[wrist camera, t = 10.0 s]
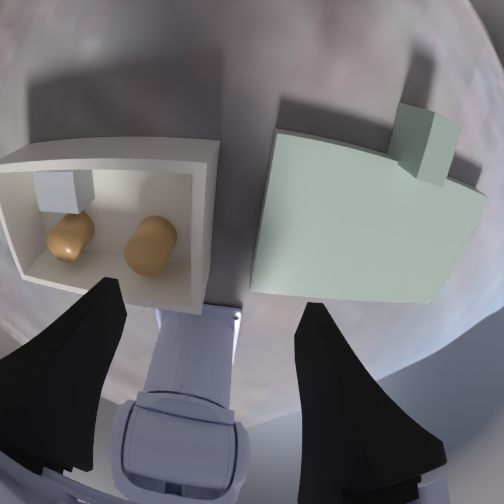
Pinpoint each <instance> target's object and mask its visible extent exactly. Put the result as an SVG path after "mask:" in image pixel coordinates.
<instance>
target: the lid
mask: <svg viewBox="0 0 504 504" xmlns="http://www.w3.org/2000/svg"><path fill="white" fill-rule="evenodd" d="M461 127H462V126H460V125H458V124H456V123H455V122H453V121H451V120H449V119H447V118H445V117H443V116H441V115H440V114H438V113H436V112H433V111H429V110H426V109H422V108H419V107H415V106H411V105H407V104H403V103H399V107H398V111H397V116H396V120H395V124H394V128H393V132H392V136H391V140H390V143H389V147H388V151H387V154H385V153H382V152H379V151H375V150H372V149H368V148H365V147H361V146H357V145H354V144H350V143H346V142H342V141H337V140H333V139H329V138H324V137H320V136H315V135H310V134H305V133H300V132H294V131H289V130H283V129H277V128H275V131H274V137H273V143H272V149H271V155H270V161H269V167H268V173H267V179H266V185H265V191H264V197H263V203H262V209H261V215H260V221H259V226H258V232H257V238H256V244H255V250H254V256H253V262H252V268H251V273H250V291H251V292H260V293H270V294H281V295H291V296H303V297H315V298H328V299H342V300H357V301H374V302H394V303H419V304H432V302H433V301H434V299H435V298H436V296H437V295H438V293H439V291H440V290H441V288H442V287H443V285H444V283H445V282H446V280H447V278H448V277H449V275H450V273H451V272H452V270H453V268H454V266H455V265H456V263H457V261H458V259H459V257H460V255H461V253H462V252H463V250H464V248H465V246H466V244H467V242H468V240H469V238H470V236H471V234H472V232H473V229H474V227H475V225H476V223H477V221H478V219H479V216H480V214H481V212H482V209H483V207H484V204H485V202H486V199H487V196H485V195H484V194H483V193H482V192H480V191H479V190H478V189H476V188H475V187H473V186H470V185H468V184H466V183H464V182H461V181H459V180H457V179H454V178H452V177H450V176H447V175H448V172H449V169H450V165H451V162H452V159H453V156H454V153H455V149H456V146H457V142H458V139H459V135H460V131H461Z"/></svg>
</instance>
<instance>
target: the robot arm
mask: <svg viewBox="0 0 504 504" xmlns="http://www.w3.org/2000/svg"><path fill="white" fill-rule="evenodd" d="M155 311H156V317H157V323H158V328H159V335H158V338H157V342H156V345H155V349H154V352H153V356H152V360H151V363H150V367H149V371H148V374H147V378H146V382H145V386H144V390H143V392H141V391H139V392H138V395H137V399H136V401H133V400H127V401H126V402H125V403H124V404H122V405H120V407H119V408H118V410H117V412H116V414H115V417H114V420H113V424H112V428H111V433H110V439H109V457H110V460H111V466H112V479H113V480H114V486H115V488H117V490H119V492H121V493H122V494H123V495H124V496H125V497H126V498H128V500H130V501H128V500H125V499H122V498H119V497H115V496H113V495H110V494H107V493H104V492H101V491H99V490H96V489H93V488H91V487H88V486H86V485H83V484H81V483H79V482H77V481H74V480H72V479H70V478H68V477H66V476H64V475H63V470H64V469H65V470H67V471H69V472H72V469H73V467H75V468H78V469H80V470H83V471H85V472H88V471H91V470H92V469H93V443H94V431H95V423H96V416H97V410H98V405H99V400H100V395H101V391H102V387H103V384H104V381H105V378H106V375H107V372H108V370H109V367H110V364H111V362H112V359H113V357H114V354H115V351H116V349H117V346H118V344H119V341H120V339H121V336H122V332H123V329H124V325H125V321H126V317H127V312H126V309H125V305H124V301H123V297H122V293H121V289H120V285H119V281H118V279H115V278H109V277H104V278H103V279H101V280H100V281H99V282H98V283H97V284H96V285H94V286H93V287H92V288H91V289H90V290H89V291H88V292H87V293H86V294H84V295H83V296H82V297H81V298H80V299H79V300H78V301H77V302H76V303H75V304H73V305H72V306H71V307H70V308H69V309H68V310H67V311H66V312H65V313H63V314H62V315H61V316H60V317H59V318H58V319H56V320H55V321H54V322H53V323H52V324H51V325H49V326H48V327H47V328H46V329H45V330H43V331H42V332H41V333H40V334H38V335H37V336H36V337H34V338H33V339H31V340H30V341H29V342H27V343H26V344H24V345H23V346H21V347H20V348H18V349H17V350H15V351H14V352H12V353H11V354H9V355H7V356H6V357H4V358H2V359H0V504H87V503H90V504H234V502H236V501H237V497H238V494H239V491H240V488H241V486H242V484H243V483H244V481H245V479H246V477H247V473H248V469H249V462H250V441H249V436H248V432H247V431H246V429H245V428H244V427H243V425H242V423H240V422H237V421H234V411H233V410H229V403H230V388H231V372H232V365H233V364H234V359H235V353H236V347H237V341H238V335H239V329H240V322H241V316H242V311H241V309H239V308H233V307H224V306H216V305H207V304H203V307H202V312H201V315H197V314H189V313H182V312H175V311H169V310H162V309H156V308H155ZM234 316H237V317H234ZM294 346H295V364H296V372H297V379H298V386H299V393H300V401H301V409H302V461H301V462H302V463H301V476H300V485H299V493H298V504H450V500H449V492H448V486H447V480H446V477H442V478H439V479H437V480H434V481H432V482H430V483H427V484H424V485H421V486H418V485H417V483H420V482H421V475H422V474H424V473H427V472H429V471H431V470H434V469H436V468H438V467H440V466H443V465H445V464H446V463H447V458H446V454H445V450H444V445H443V442H442V441H441V440H439V439H438V438H437V437H435V436H434V435H432V434H430V433H429V432H428V431H426V430H425V429H424V428H422V427H421V426H420V425H419V424H418V423H416V422H415V421H414V420H413V419H412V418H410V417H409V416H408V415H407V414H406V413H405V412H404V411H403V410H402V409H401V408H400V407H399V406H398V405H397V404H396V403H395V402H394V401H393V400H392V399H391V398H390V397H389V396H388V395H387V394H386V393H385V392H384V391H383V390H382V388H381V387H380V386H379V385H378V384H377V383H376V381H375V380H374V379H373V378H372V376H371V375H370V374H369V373H368V371H367V370H366V369H365V367H364V366H363V364H362V363H361V362H360V360H359V359H358V357H357V356H356V355H355V353H354V352H353V350H352V349H351V347H350V346H349V344H348V343H347V341H346V340H345V338H344V336H343V335H342V333H341V332H340V330H339V328H338V327H337V325H336V324H335V322H334V320H333V319H332V317H331V315H330V314H329V312H328V310H327V309H326V307H325V306H324V304H323V303H313V302H307V305H306V308H305V310H304V313H303V315H302V318H301V320H300V323H299V325H298V328H297V330H296V333H295V335H294ZM77 498H78V499H80V500H83V501H85V502H87V503H83V502H79V501H78V500H77Z"/></svg>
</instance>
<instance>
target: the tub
mask: <svg viewBox="0 0 504 504" xmlns="http://www.w3.org/2000/svg"><path fill="white" fill-rule="evenodd" d="M219 149H220V141H219V140H208V139H194V138H177V137H95V138H78V139H66V140H55V141H46V142H38V143H31V144H28V145H26V146H24V147H22V148H20V149H18V150H16V151H14V152H13V153H11V154H9V155H7V156H5V157H4V158H2V159H0V219H1V222H2V226H3V229H4V232H5V235H6V238H7V241H8V244H9V247H10V250H11V252H12V255H13V258H14V260H15V263H16V265H17V268H18V270H19V273H20V275H21V277H22V279H23V280H27V281H31V282H34V283H38V284H42V285H46V286H49V287H53V288H57V289H61V290H66V291H70V292H74V293H79V294H83V295H84V294H86V293H87V292H88V291H89V290H90V289H91V288H92V287H93V286H94V285H96V284H97V283H98V282H99V281H100V280H101V279H103V278H104V277H109V278H115V279H118V281H119V285H120V289H121V293H122V297H123V301H124V303H127V304H133V305H138V306H144V307H150V308H156V309H162V310H169V311H175V312H182V313H189V314H197V315H201V312H202V307H203V302H204V297H205V292H206V287H207V282H208V277H209V273H210V268H211V250H212V234H213V219H214V205H215V193H216V181H217V170H218V159H219Z"/></svg>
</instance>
